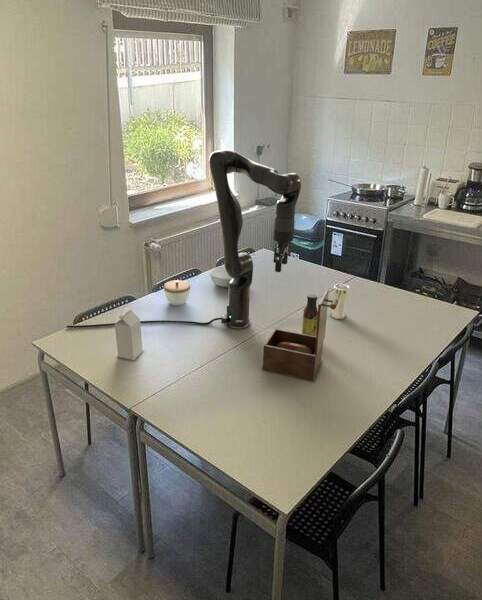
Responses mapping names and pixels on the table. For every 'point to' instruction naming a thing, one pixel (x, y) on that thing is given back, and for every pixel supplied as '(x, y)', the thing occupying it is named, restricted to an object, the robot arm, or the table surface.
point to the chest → (291, 355)
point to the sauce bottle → (310, 316)
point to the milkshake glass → (340, 300)
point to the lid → (323, 319)
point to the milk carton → (128, 336)
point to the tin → (295, 347)
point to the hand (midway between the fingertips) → (281, 267)
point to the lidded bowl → (177, 292)
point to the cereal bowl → (220, 276)
